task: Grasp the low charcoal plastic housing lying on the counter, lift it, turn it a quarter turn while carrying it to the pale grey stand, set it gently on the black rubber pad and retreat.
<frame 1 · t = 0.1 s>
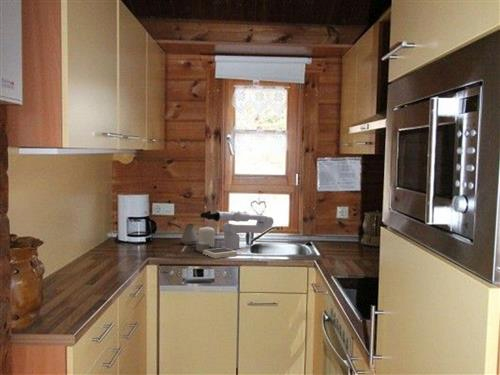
hand: (204, 215, 277), 22 cm above the worktop, tool horizontal, fingers open, 7 cm apart
housing: (202, 251, 279), on the worktop
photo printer: (206, 246, 293), on the worktop
stand: (219, 255, 269), on the worktop
coffee pot: (183, 244, 297), on the worktop
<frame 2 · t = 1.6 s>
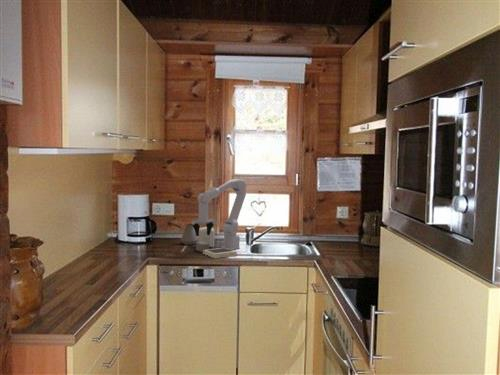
hand: (202, 235, 278), 9 cm above the worktop, tool pointing down, fingers open, 7 cm apart
nothing on the worktop moved.
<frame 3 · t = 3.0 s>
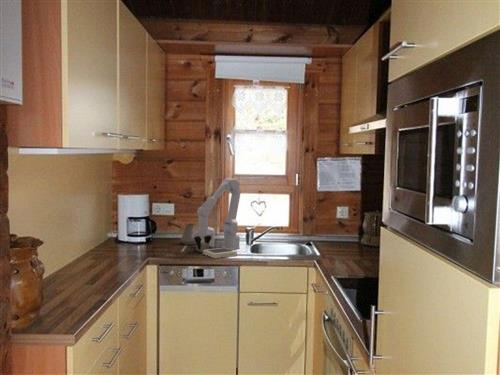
hand: (202, 248, 279), 1 cm above the worktop, tool pointing down, fingers closed on housing, 4 cm apart
housing: (202, 250, 279), on the worktop, touching gripper
everything else where it was.
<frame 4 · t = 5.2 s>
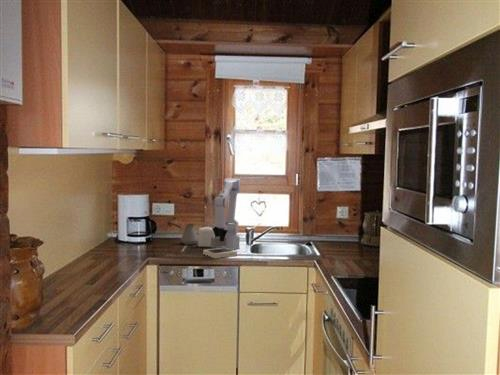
hand: (219, 240, 268), 8 cm above the worktop, tool pointing down, fingers closed on housing, 4 cm apart
housing: (218, 245, 268), point 5 cm above the worktop, touching gripper
everything else where it was.
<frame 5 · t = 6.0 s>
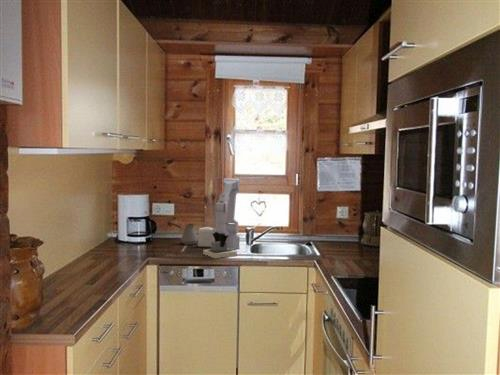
hand: (220, 245, 268), 5 cm above the worktop, tool pointing down, fingers closed on housing, 4 cm apart
housing: (219, 250, 268), point 3 cm above the worktop, touching gripper, stand
everything else where it was.
when the fingers open (5 cm above the worktop, at t = 6.5 s): housing stays where it is, resting on stand.
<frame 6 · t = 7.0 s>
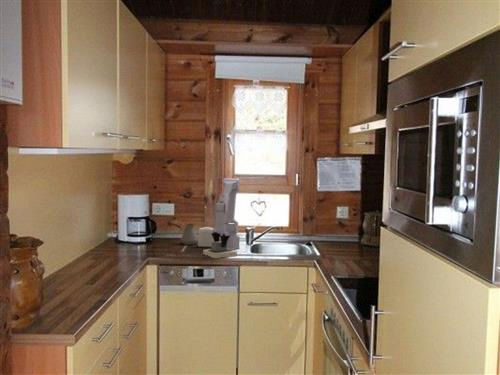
hand: (220, 246, 268), 5 cm above the worktop, tool pointing down, fingers open, 7 cm apart
housing: (219, 250, 268), point 3 cm above the worktop, touching stand
everything else where it was.
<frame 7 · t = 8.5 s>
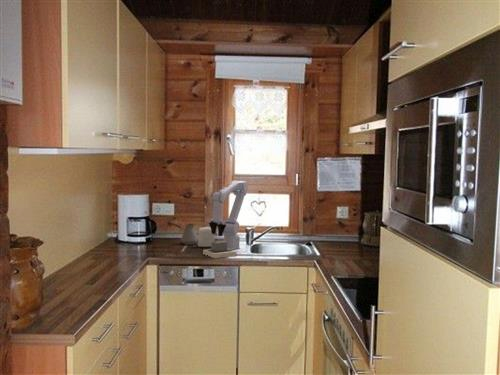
hand: (217, 235, 276), 10 cm above the worktop, tool pointing down, fingers open, 7 cm apart
nothing on the worktop moved.
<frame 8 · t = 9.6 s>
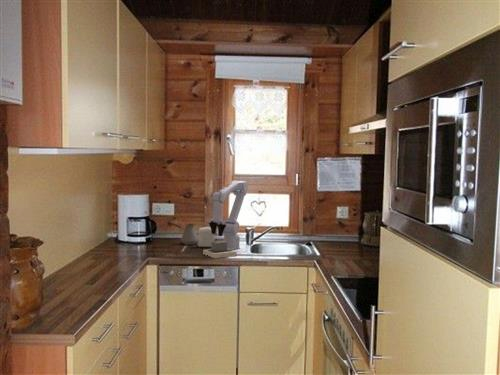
hand: (217, 235, 276), 10 cm above the worktop, tool pointing down, fingers open, 7 cm apart
nothing on the worktop moved.
at the end: housing inside the target area on the stand (0.6 cm from its centre), point 2.8 cm above the stand's base; housing tilted 0°; the gripper is holding nothing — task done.
